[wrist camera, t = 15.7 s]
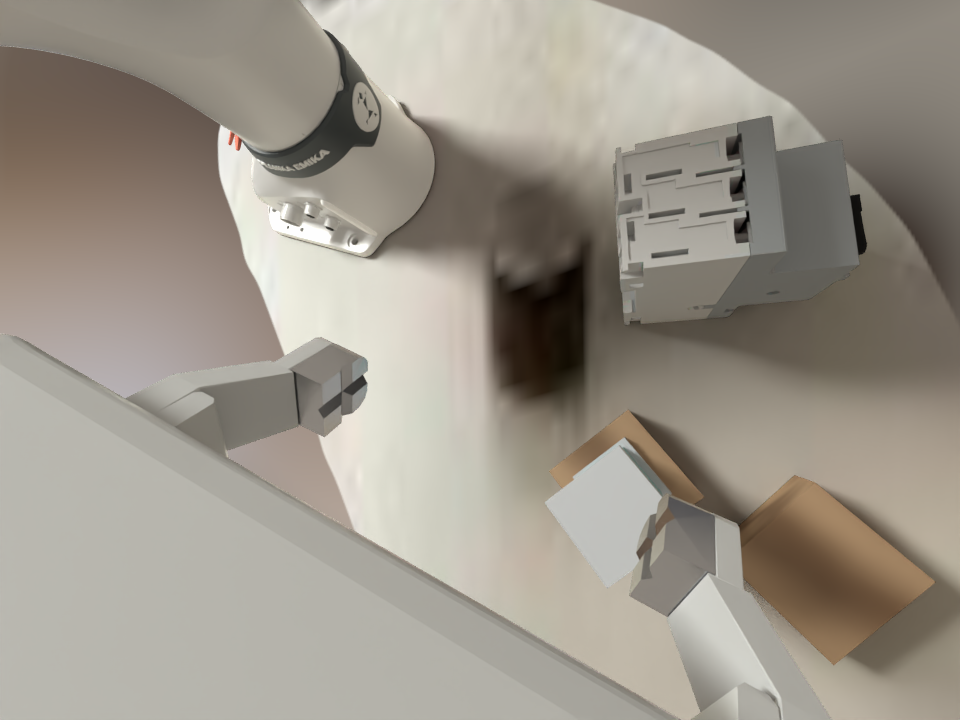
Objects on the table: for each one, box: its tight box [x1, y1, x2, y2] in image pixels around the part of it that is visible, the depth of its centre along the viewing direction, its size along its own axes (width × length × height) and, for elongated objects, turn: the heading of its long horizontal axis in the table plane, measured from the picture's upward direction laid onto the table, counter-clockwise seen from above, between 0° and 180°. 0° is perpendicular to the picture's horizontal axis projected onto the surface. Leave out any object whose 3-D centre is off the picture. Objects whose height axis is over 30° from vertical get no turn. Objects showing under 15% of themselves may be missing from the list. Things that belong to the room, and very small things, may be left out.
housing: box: [545, 437, 672, 588], centre depth 28 cm, size 5×5×12 cm
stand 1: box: [549, 410, 704, 505], centre depth 35 cm, size 8×8×4 cm
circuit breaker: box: [613, 116, 867, 325], centre depth 30 cm, size 8×14×15 cm, turn 90°
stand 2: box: [739, 475, 935, 665], centre depth 30 cm, size 8×8×4 cm
